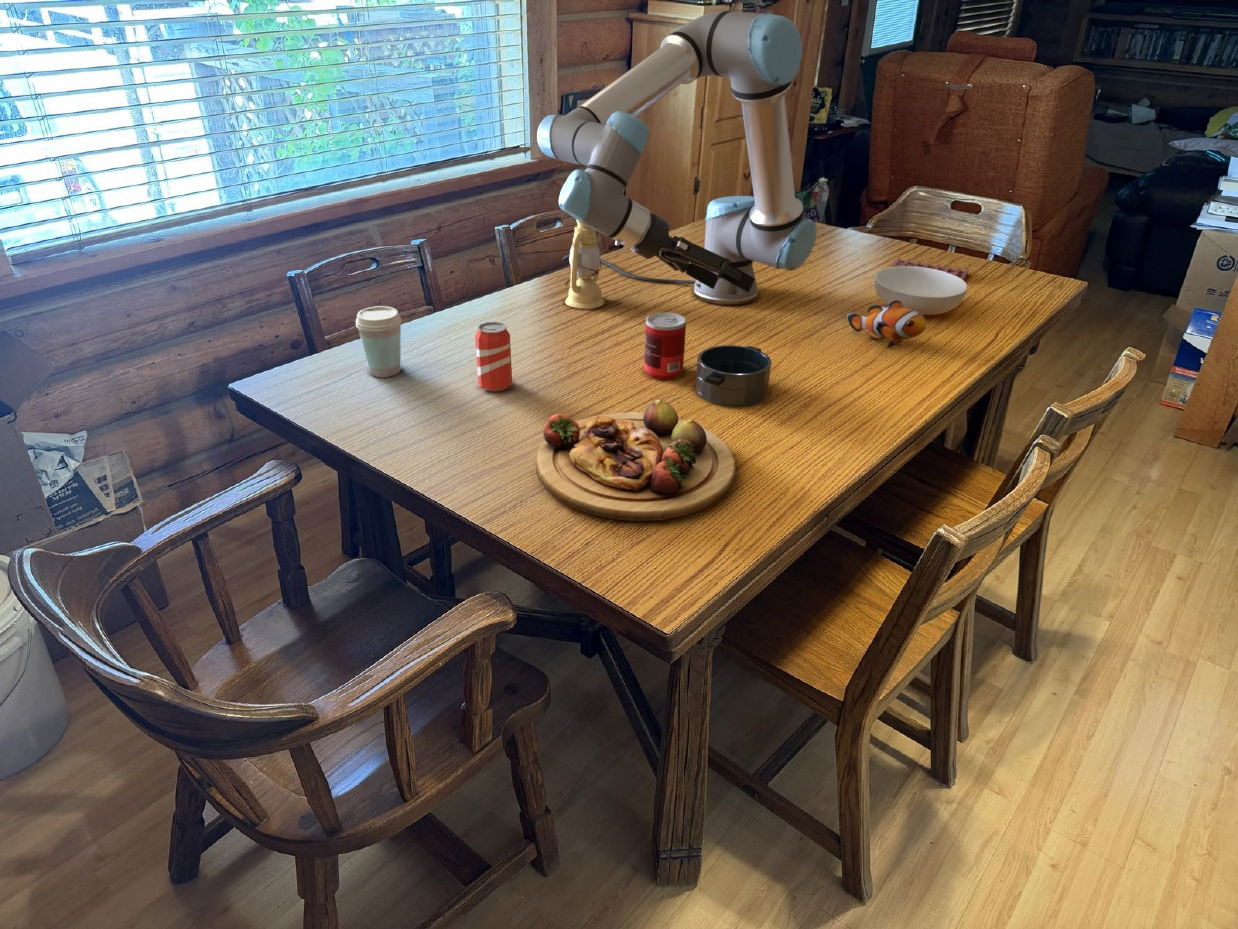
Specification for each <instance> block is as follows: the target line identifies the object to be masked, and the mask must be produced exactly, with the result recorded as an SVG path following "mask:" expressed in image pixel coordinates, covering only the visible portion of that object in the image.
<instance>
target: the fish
mask: <svg viewBox="0 0 1238 929" xmlns="http://www.w3.org/2000/svg"><path fill="white" fill-rule="evenodd" d="M867 314H868V316H865V315H860V314H858V313H855V312H849V313H847V316H846V319H847V322H848V325H849V326H850V328H851V329H852V330H853V331H854V332H856V333H859V332H861V331H864V330H865V331H868V333H869V337H870V339H871V340H872V341H879V340H880V341H881V340H884V339H889V340H890V341H889V343H888V346H887V347H888V348H889V349H890V348H892V347H895V346H897V345H898V344H900V343H902V342H903V341H904V340H905V341H907V340H910V339H914V338H916V337H918V336H920V335H921V334H923V333H924V332H925V331H926V329H927V321H926V315H921V314H920V313H918V312H917V311H915V310H913V309H910V308H905V307H904V306H903V305H902V303H901V302H900V301H898V300H894V301H893V302H891V303H890V304H889V305H886V306H885V305H878V304H876V305H871V306H869V307H868V309H867Z"/></svg>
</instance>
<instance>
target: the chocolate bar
mask: <svg viewBox="0 0 1238 929" xmlns="http://www.w3.org/2000/svg"><path fill="white" fill-rule="evenodd" d="M898 266H914V267H924V268H931V269H936V270H940V271H944V272H947V273H950V274H953V275H955V276H957V277H959V278H961V279H962V280H963V281H965V280H966V279H967V278H968V276H969V270H970V269H969V268H965V270H962V268H961V267H957V269H955V268H951V265H947V267H943V266H941V264H940V263H937V264H936V265H931V262H929V261H927V262H926V263H921V260H917V261H916V262H913V261H911V259H910V258H907V259H906V260H901V259H900V257H896V258H895V259H894V260H893V262H892V264H891V265H890V267H898Z"/></svg>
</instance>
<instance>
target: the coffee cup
mask: <svg viewBox="0 0 1238 929" xmlns="http://www.w3.org/2000/svg"><path fill="white" fill-rule="evenodd" d="M402 323H403V319H402V316H401V315H400V313H399V311H398V309H396V308H394V307H392V306H386V305H377V306H376V305H375V306H370V307H365V308H362V309H361V310H359V311H358V312H357V314H356V319H355V326H356V328H357V329H358V333H359V338H360V341H361V344H362V348H363V352H364V356H365V359H366V363H367V367H368V371H369V373H370V375H371V376H374V377H377V378H388V377H389V378H390V377H392V376H395V375H398V374H399V373H400V372H401V349H402V348H401V344H402V343H401V342H402V341H401V340H402V339H401V330H402V329H401V326H402Z"/></svg>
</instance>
